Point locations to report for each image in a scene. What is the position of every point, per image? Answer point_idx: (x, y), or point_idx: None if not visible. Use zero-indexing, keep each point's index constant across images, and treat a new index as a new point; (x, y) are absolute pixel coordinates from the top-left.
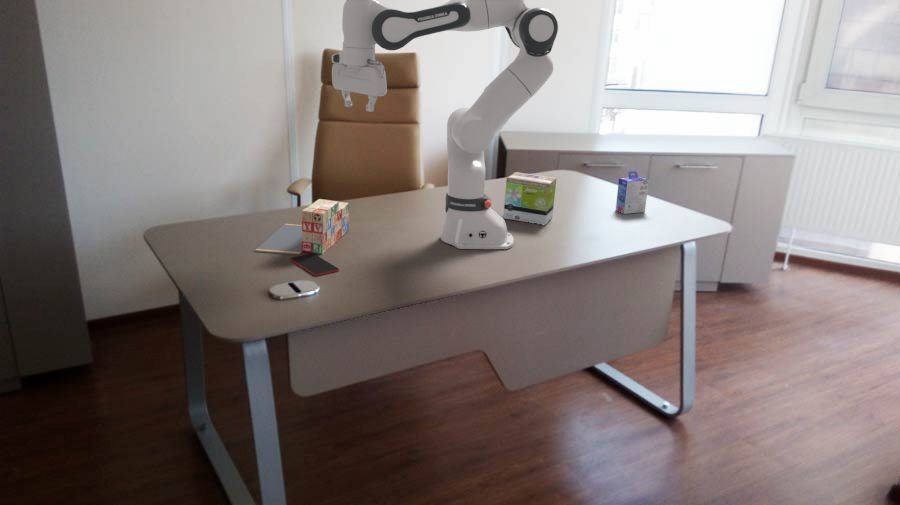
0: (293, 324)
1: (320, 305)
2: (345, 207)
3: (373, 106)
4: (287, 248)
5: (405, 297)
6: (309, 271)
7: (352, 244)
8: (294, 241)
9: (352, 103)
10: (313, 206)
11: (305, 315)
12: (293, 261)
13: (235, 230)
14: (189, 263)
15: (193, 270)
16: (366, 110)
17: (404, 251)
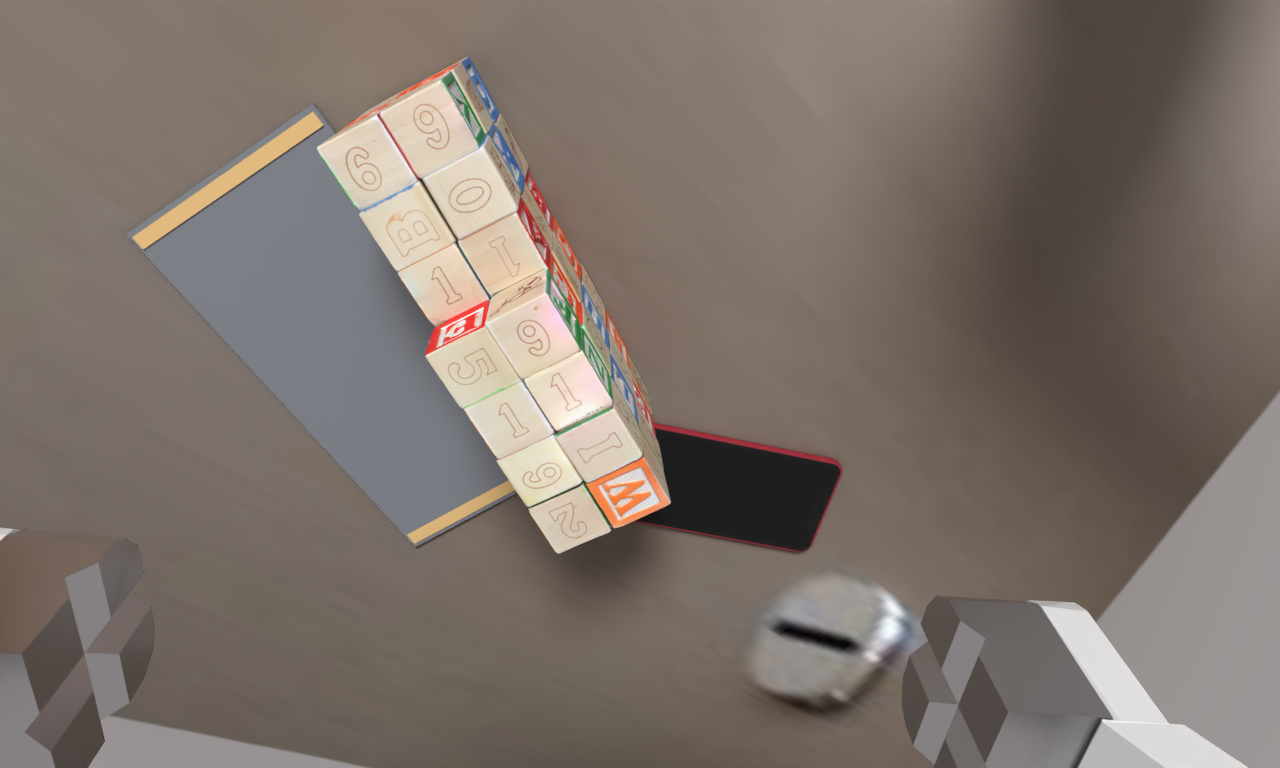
0: None
1: None
2: (488, 151)
3: (1129, 696)
4: (485, 451)
5: (1204, 470)
6: (764, 545)
7: (652, 200)
8: (424, 377)
9: (63, 585)
10: (538, 474)
11: None
12: None
13: (86, 451)
14: (375, 725)
15: (446, 742)
16: (914, 702)
17: (945, 83)
